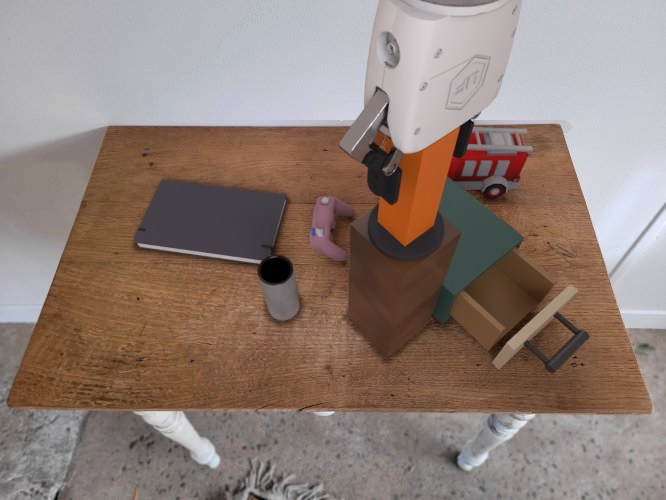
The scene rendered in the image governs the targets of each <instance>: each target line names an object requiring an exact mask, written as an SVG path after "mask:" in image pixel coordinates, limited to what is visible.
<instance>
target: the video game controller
mask: <svg viewBox="0 0 666 500" xmlns="http://www.w3.org/2000/svg"><path fill="white" fill-rule="evenodd" d="M313 208H314V209H313V212H312V218H311V229H310V230H309V233H308V239H309V244H310V246H311V248H312V249H313V250H314V251H318V252H319V253H321V254H323V255H324V256H326V257H328V258H330V259H333V260H335V261H340V262H345V261H347V260H349V254H348V253H347V251H345V250H344V249H343V248H341V247H339V246H338V245H337V244H335V243H334V237H333V233H332V232H331V231H332V230H334V229H336V228H337V227H336V226H337V220H336V218H335V214H336V215H339V216H342V217H348V218H349V217H353V216H354V215H355V209H354V208H353V206H351V205H349V204H348V203H347V202H344V201H342V200H340V199H338V198H336V197H335V196H333V195H321V196H318V197H317V198H316V200H315V205H314V207H313Z"/></svg>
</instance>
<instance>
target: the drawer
mask: <svg viewBox="0 0 666 500" xmlns="http://www.w3.org/2000/svg"><path fill="white" fill-rule="evenodd" d="M557 283H558V280H557V279H556V278H554V277H553V276H552V275H551V274H550V273H549V272H547V271H546V270H545V269H544V268H542V267H541V266H540V265H539V264H537V263H536V262H535V261H534V260H532V259H531V258H530V257H529V256H527V255H526V254H525V253H524V252H523V251H521V250H520V248H519V249H517V248H516V247H515V248H514V249H512V250H511V251H510V252H509V253H508V254H506V255H505V256H504V257H503V258H502V259H500V260H499V261H498V262H497V263H495V264H494V265H493V266H492V267H491V268H489V269H488V270H487V271H486V272H485V273H483V274H482V275H481V276H480V277H479V278H477V279H476V280H475V281H474V282H473V283H471V284H470V285H469V286H468V287H466V288H465V289H464V290H463V291H462V292H460V293H459V294H458V295H457V297H456V299H455V302H454V304H453V306H452V309H451V311H450V313H449V314H450V315H451V316H452V317H451V318H452V319H454V320H455V321H456V322H457V323H458V324H459V325H460V326H461V327H462V328H463V329H464V330H465V331H466V332H468V334H469V335H470V336H472V337H473V339H474V340H476V341H477V342H478V343H479V344H480V345H481V346H482V347H483V348H484V349H485V350H486V351H487V352H489V351H490V350H491V349H492V348H493V347H495V345H497V344H498V343H499V342H500V341H501V340H502V339H504V337H505V336H506V335H508V333H510V332H511V331H512V330H513V329H514V328H515V327H516V326H517V325H519V324H520V323H521V322H522V321H523V320H524V319H525V318H526V317H527V316H529V315H530V313H532V312H533V311H534V310H535V309H536V308H538V307H539V305H540V304H542V302H543V301H544V300H545V299H546V297H547V296H548V295H549V293H550V292H551V290H552V289H553V288H554V286H555V285H556V284H557ZM578 292H579V289H578V288H577V287H575V286H574V285H572V284H571V283H569V284H568V286H567V287H564V289H563V290H562V291H561V292H560V293H559V294H558V295H556V296H555V297H554V298H553V299H552V300H551V301H550V302H549V303H548V304H546V306H545V307H543V308H542V309H541V310H540V311H539V312H538V313H537V314H536V315H535V316H534V317H533V318H531V319H530V320H529V322H527V323H526V324H525V325H524V326H523V327H521V329H520V330H519V331H518V332H516V333H515V334H514V335H513V336H512V337H511V338H510V339H509V340H508V341H506V343H505V344H504V345H503V347H502V348H501V349H500V350H499V352H498V353H497V355H496V356H495V358H494V359H493V360H492V361H491V364H492V365H493V366H494V367H495V368H497V369H498V370H500V369H501V368H502V367H503V366H505V365H506V363H508V362H509V361H510V360H511V359H512V358H513V357H514V356H515V355H516V354H518V352H520V350H521V349H522V348H524V347H526V349H527V350H529V352H531V353H532V354H533V355H535V357H536V358H538V360H540V361H541V362H542V363H543V364H544V369H545V370H546V371H547V372H548V373H550V374H555V373H557V371H558V370H559V369H560V368H561V367H562V366H563V365H564V364H565V363H566V362H567V361H568V360H569V359H570V358H571V357H572V356H573V355H574V354H575V353H576V352H577V351H578V350H579V349H580V348H581V347H582V346H583V345H584V344H585V343H587V341H588V340H589V339H590V337H591V336H590V334H589V333H588V332H587V331H586V330H585V329H579V328H578V327H577V326H575V325H574V324H573V323H572V322H571V321H569V320H568V319H567V318H566V317H565V316H564V315H562V314H561V313H560V312H561V311H562V310H563V309H564V308H565V307H566V305H568V303H569V302H570V301H571V300H572V298H573V297H574V296H575V295H576V294H577V293H578ZM553 319H556V320H557V321H558V322H559V323H560V324H561V325H563V326H564V327H565V328H567V329H568V330H569V331H570V332H571V333H572V334H574V335H573V336H571V337H570V339H569V340H568V341H567V342H566V343H565V344H563V346H561V348H560V349H559V350H557V352H556V353H554V354H553V355H552V357H550V358H549V357H547V356H546V355H545V354H544V353H543V352H541V350H539V349H538V348H537V347H536V346H535V345H534V344H533V343H531V342H530V341H531V340H532V339H533V338H534V337H535V336H536V335H537V334H539V333H540V332H541V331H542V330H543V329H544V328H545V327H546V326H548V324H549V323H551V321H552V320H553Z"/></svg>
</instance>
